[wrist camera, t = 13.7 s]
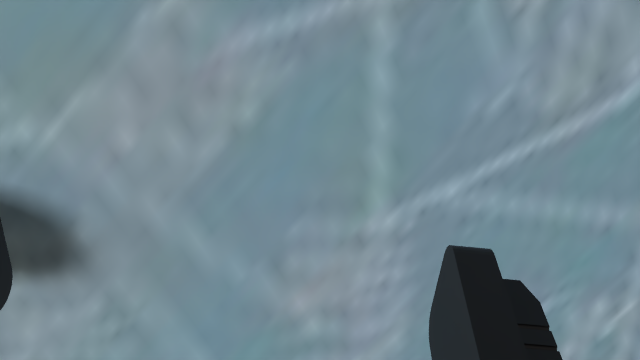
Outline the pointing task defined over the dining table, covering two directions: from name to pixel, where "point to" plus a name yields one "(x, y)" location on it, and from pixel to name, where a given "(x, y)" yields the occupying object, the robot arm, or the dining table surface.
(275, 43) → the dining table surface
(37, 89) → the dining table surface
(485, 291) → the robot arm
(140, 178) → the dining table surface
